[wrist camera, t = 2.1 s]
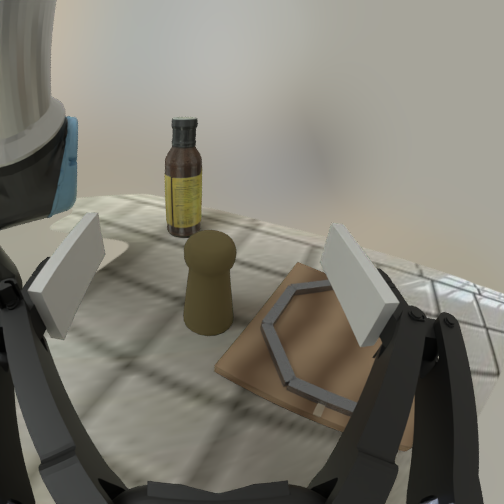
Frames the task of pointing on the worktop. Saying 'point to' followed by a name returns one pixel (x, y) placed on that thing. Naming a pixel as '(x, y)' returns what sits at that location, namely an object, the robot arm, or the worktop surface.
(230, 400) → the worktop surface
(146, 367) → the worktop surface
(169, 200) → the sauce bottle
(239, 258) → the worktop surface
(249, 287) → the worktop surface
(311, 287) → the steel ring
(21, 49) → the robot arm
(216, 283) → the cork
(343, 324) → the walnut board
